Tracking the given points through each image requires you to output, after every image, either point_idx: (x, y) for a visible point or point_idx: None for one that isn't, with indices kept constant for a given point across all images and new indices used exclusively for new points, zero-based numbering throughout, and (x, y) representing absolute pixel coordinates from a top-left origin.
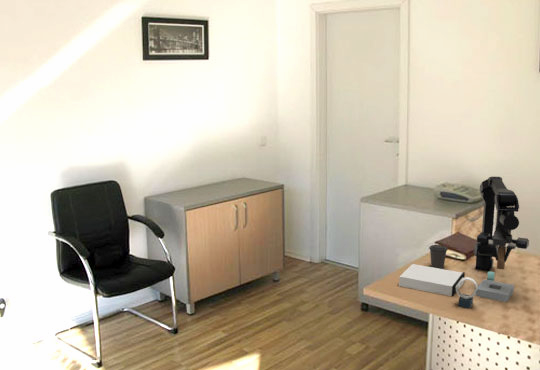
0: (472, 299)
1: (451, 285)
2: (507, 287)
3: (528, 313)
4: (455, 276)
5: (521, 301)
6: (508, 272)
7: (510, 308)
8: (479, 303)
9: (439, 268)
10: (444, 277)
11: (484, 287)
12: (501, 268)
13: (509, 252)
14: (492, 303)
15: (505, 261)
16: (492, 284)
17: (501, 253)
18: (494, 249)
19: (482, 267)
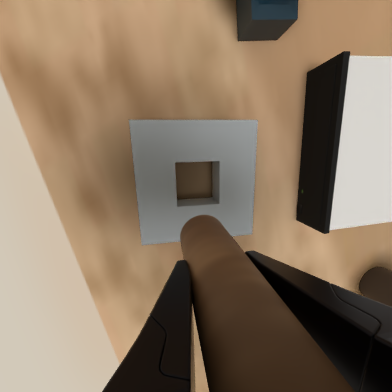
0: (246, 11)
1: (351, 66)
2: (155, 205)
3: (20, 47)
4: (347, 177)
5: (92, 164)
6: (202, 363)
7: (102, 66)
8: (216, 55)
9: (370, 272)
10: (380, 144)
11: (232, 153)
12: (193, 219)
13: (120, 364)
14: (176, 83)
15: (178, 262)
16: (213, 204)
17: (246, 301)
18: (386, 321)
19: None
